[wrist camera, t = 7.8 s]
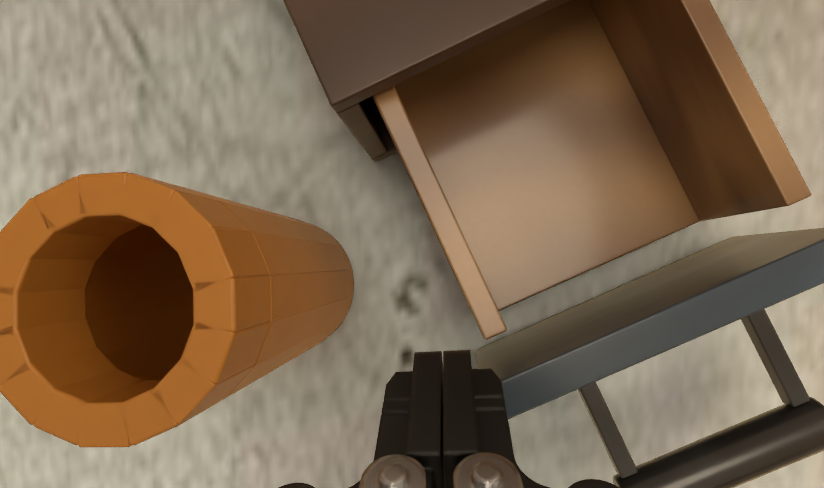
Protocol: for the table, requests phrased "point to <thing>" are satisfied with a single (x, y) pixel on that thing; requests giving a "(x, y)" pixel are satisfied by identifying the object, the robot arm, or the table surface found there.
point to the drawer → (614, 211)
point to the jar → (153, 304)
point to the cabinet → (393, 47)
